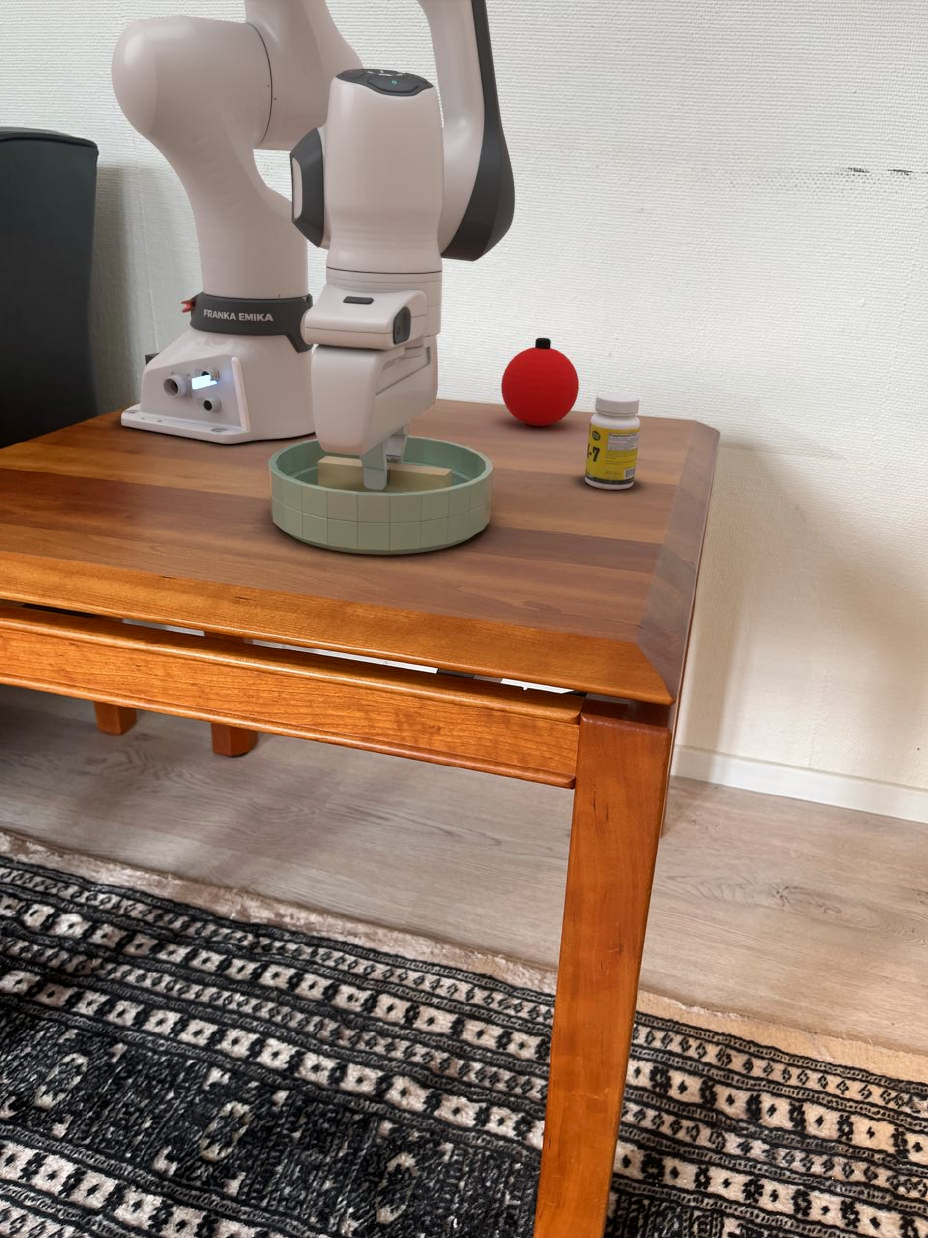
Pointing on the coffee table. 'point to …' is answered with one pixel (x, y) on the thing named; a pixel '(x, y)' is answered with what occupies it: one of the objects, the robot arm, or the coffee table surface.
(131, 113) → the robot arm
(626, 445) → the supplement bottle
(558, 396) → the ornament
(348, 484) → the block
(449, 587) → the coffee table surface
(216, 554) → the coffee table surface
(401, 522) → the bowl
